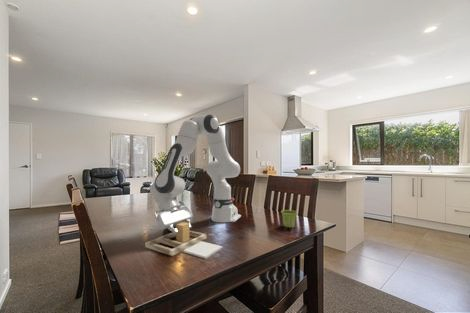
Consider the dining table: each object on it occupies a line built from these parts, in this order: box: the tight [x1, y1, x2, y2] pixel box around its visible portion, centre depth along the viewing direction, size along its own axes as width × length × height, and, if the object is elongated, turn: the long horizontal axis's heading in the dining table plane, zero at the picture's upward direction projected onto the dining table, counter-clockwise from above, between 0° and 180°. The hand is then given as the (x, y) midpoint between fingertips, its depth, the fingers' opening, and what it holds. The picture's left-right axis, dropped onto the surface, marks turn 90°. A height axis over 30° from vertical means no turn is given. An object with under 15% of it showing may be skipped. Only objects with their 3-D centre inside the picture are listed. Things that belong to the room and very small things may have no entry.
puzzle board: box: [144, 229, 208, 256], centre depth 101 cm, size 23×17×2 cm
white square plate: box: [182, 240, 223, 260], centre depth 93 cm, size 12×12×1 cm
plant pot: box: [280, 209, 298, 229], centre depth 127 cm, size 9×9×9 cm
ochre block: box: [175, 222, 191, 243], centre depth 105 cm, size 4×4×8 cm
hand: (183, 230), depth 104 cm, fingers open, 8 cm apart
